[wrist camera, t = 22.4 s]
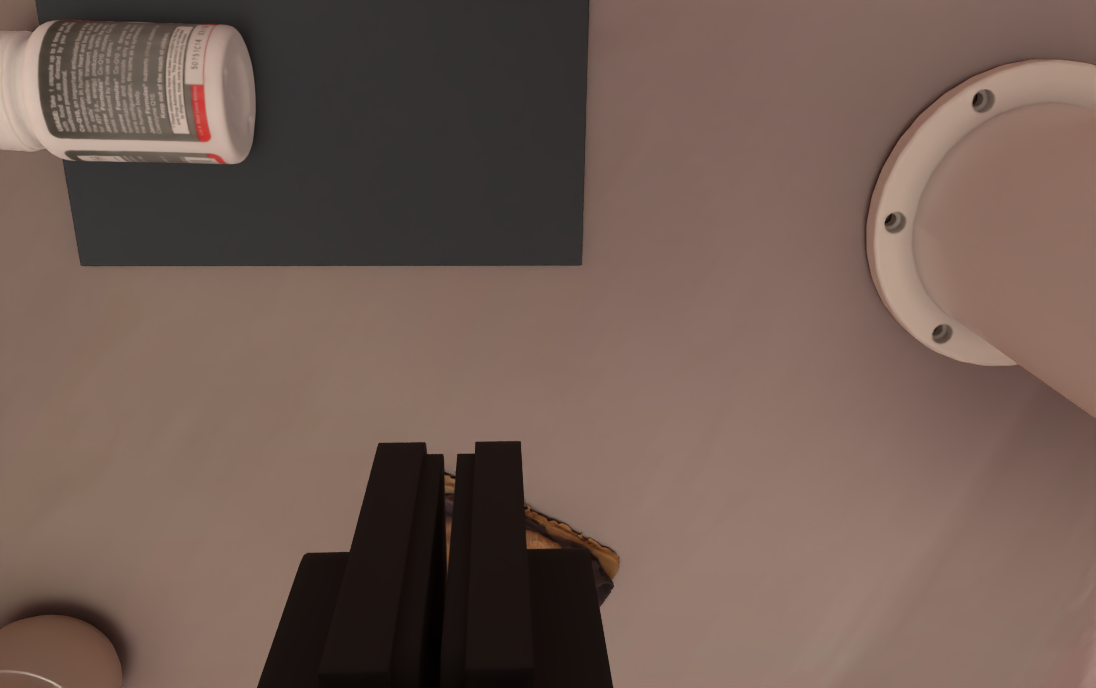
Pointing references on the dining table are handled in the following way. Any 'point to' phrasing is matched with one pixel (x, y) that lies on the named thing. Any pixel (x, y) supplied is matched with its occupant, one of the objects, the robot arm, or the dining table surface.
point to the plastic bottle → (57, 655)
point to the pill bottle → (128, 92)
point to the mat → (363, 140)
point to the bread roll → (552, 542)
